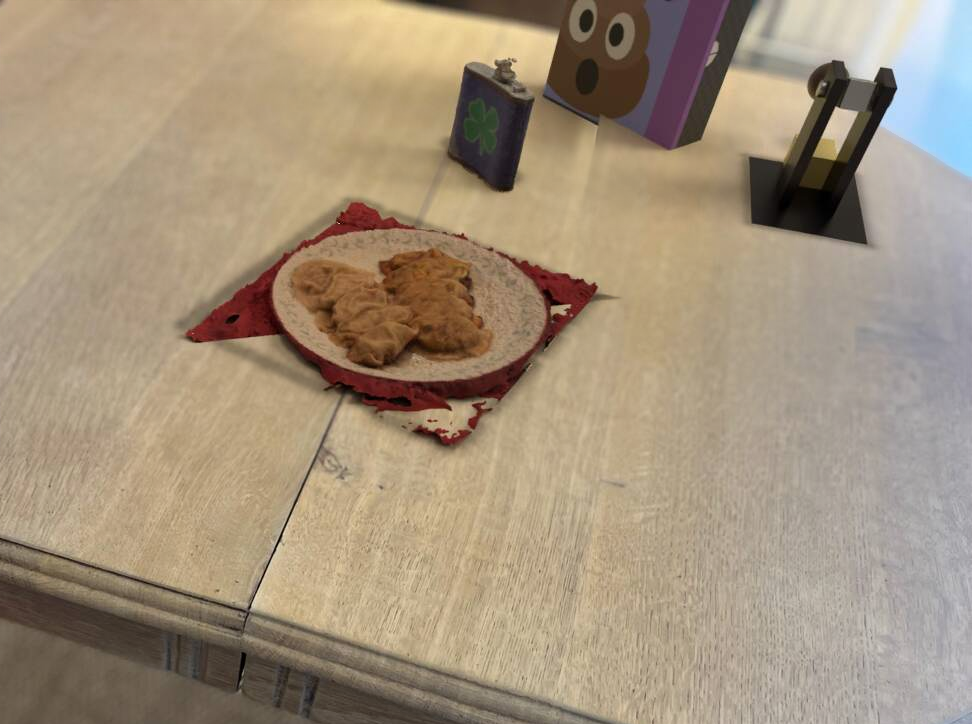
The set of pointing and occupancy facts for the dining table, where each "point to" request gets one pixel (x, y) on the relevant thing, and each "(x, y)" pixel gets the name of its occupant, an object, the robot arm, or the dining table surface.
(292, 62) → the dining table surface
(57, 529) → the dining table surface
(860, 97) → the slicer arm
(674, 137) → the cereal box
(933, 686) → the dining table surface
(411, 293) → the plate with food
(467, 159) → the flask
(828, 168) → the butter
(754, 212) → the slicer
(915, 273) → the dining table surface
